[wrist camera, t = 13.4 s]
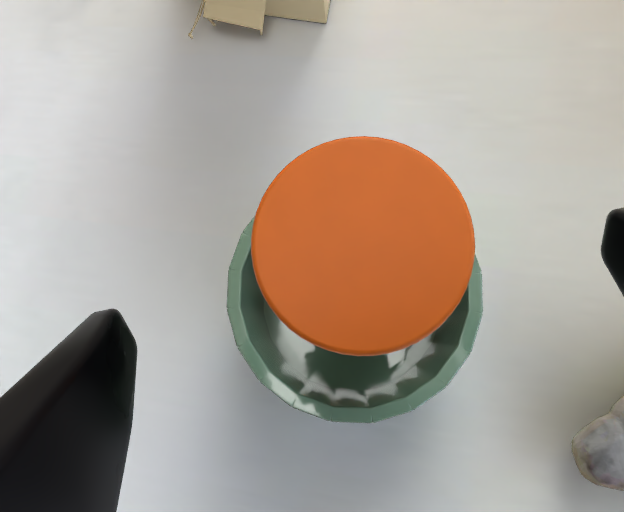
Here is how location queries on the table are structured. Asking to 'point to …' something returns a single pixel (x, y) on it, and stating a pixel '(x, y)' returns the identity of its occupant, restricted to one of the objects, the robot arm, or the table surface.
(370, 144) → the marker
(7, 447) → the robot arm
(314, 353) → the pen pot
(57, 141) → the table surface
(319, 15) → the robot
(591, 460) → the decorative stone
